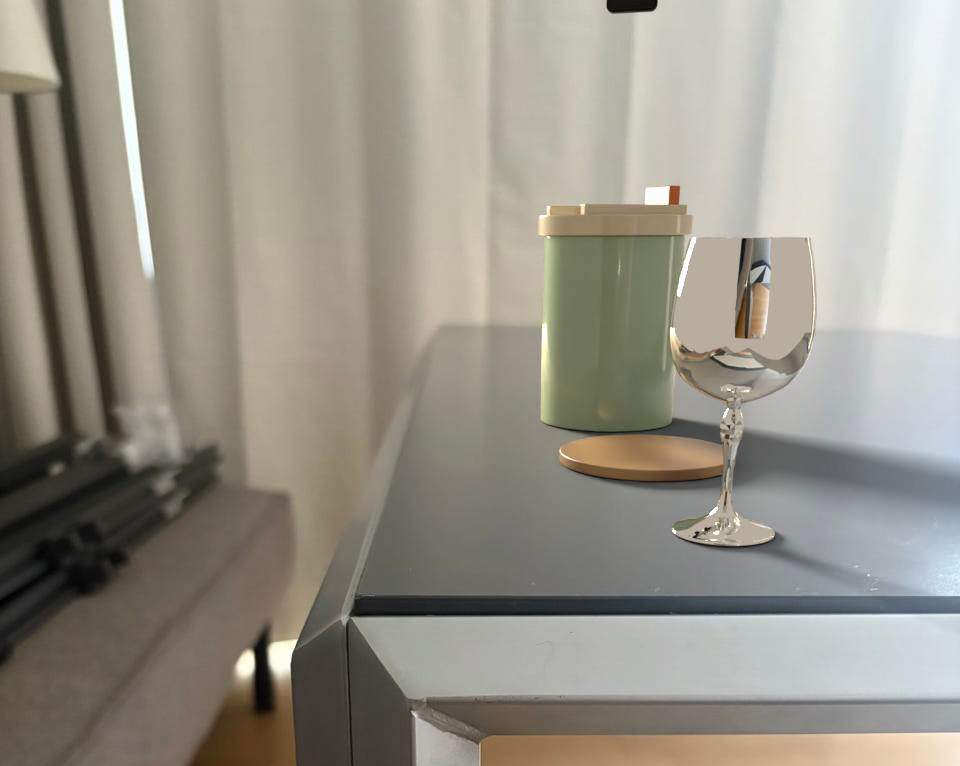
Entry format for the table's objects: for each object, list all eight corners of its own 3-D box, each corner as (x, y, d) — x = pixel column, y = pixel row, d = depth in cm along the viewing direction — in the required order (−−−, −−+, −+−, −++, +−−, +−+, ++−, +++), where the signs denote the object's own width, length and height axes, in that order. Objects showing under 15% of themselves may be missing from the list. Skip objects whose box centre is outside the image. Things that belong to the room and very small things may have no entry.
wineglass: (629, 531, 44) (646, 237, 39) (703, 508, 47) (726, 237, 43) (744, 559, 40) (777, 238, 35) (815, 531, 44) (853, 237, 39)
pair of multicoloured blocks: (651, 215, 68) (653, 187, 67) (682, 214, 64) (684, 185, 63) (603, 214, 66) (605, 187, 66) (632, 214, 63) (634, 184, 62)
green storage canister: (634, 404, 76) (645, 207, 70) (706, 427, 67) (724, 203, 62) (513, 412, 72) (515, 206, 67) (571, 437, 64) (579, 202, 59)
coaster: (677, 439, 63) (678, 430, 63) (771, 472, 54) (773, 461, 54) (532, 451, 60) (532, 441, 60) (608, 488, 51) (608, 476, 51)
